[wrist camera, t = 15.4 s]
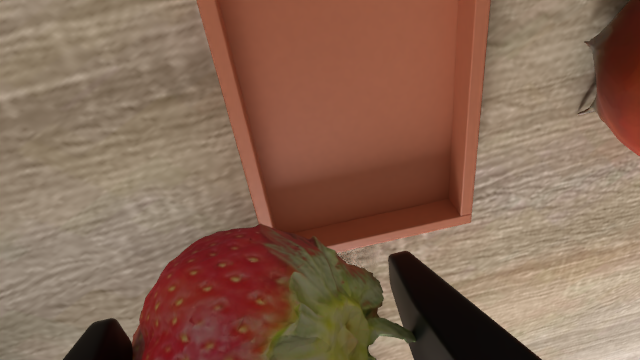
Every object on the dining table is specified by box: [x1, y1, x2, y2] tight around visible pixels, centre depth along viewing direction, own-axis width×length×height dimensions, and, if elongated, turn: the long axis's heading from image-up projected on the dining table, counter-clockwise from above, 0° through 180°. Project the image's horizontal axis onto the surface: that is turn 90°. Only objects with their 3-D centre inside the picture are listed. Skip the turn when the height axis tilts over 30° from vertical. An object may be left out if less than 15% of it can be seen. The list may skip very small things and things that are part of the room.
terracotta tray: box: [197, 0, 491, 253], centre depth 18 cm, size 15×10×2 cm
